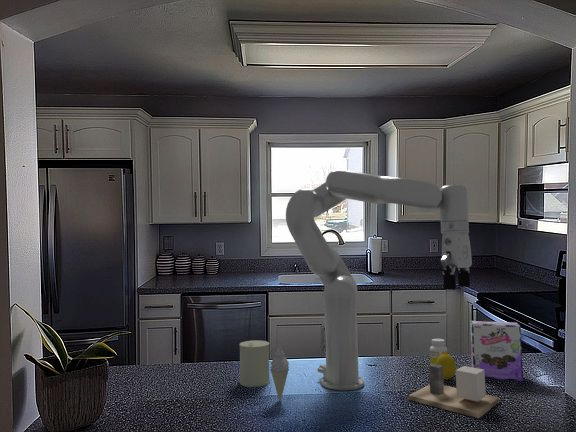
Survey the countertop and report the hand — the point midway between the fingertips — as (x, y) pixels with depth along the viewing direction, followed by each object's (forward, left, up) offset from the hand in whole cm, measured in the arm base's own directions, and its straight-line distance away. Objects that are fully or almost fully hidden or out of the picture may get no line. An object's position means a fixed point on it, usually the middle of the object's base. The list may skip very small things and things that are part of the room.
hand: (457, 288), depth 122 cm
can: (-49, -34, -28) cm, 66 cm away
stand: (+2, -10, -28) cm, 30 cm away
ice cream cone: (-32, -40, -28) cm, 59 cm away
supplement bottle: (-13, +14, -28) cm, 34 cm away
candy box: (+3, +19, -29) cm, 34 cm away
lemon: (-7, +6, -28) cm, 30 cm away
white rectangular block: (+7, -10, -26) cm, 29 cm away
